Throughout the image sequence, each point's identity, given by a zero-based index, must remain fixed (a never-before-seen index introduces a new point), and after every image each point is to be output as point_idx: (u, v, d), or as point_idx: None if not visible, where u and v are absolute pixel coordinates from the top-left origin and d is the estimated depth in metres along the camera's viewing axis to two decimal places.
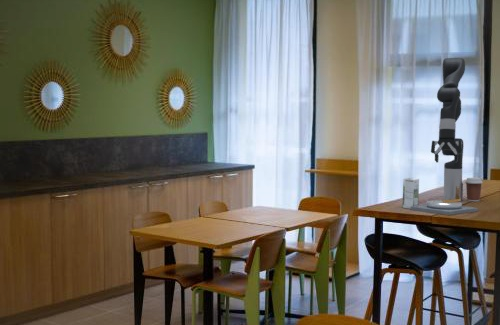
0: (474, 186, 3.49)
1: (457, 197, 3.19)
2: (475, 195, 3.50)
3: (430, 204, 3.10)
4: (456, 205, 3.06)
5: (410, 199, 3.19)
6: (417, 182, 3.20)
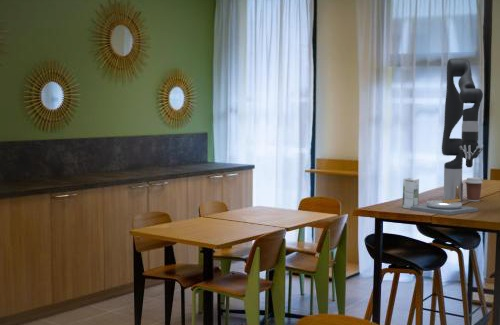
0: (474, 186, 3.49)
1: (457, 197, 3.19)
2: (475, 195, 3.50)
3: (430, 204, 3.10)
4: (456, 205, 3.06)
5: (410, 199, 3.19)
6: (417, 182, 3.20)
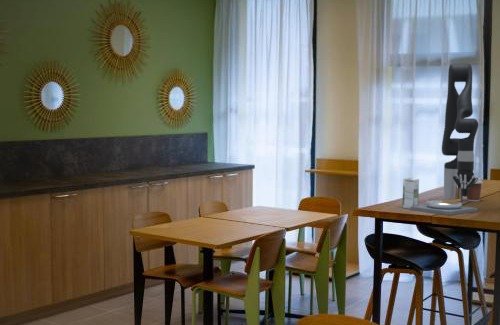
0: (474, 186, 3.49)
1: (457, 197, 3.19)
2: (475, 195, 3.50)
3: (430, 204, 3.10)
4: (456, 205, 3.06)
5: (410, 199, 3.19)
6: (417, 182, 3.20)
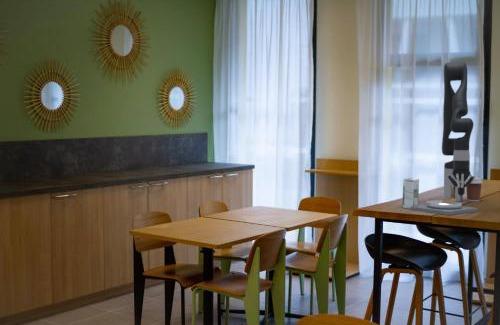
0: (474, 186, 3.49)
1: (453, 197, 3.21)
2: (475, 195, 3.50)
3: (433, 204, 3.09)
4: (459, 205, 3.07)
5: (410, 199, 3.19)
6: (417, 182, 3.20)
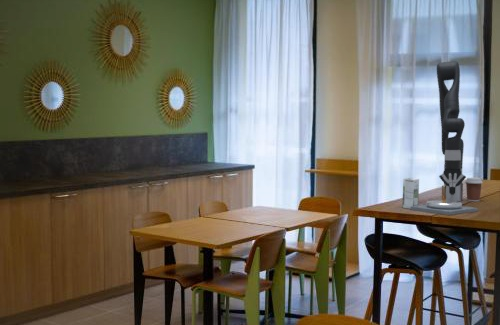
0: (474, 186, 3.49)
1: (444, 196, 3.23)
2: (475, 195, 3.50)
3: (440, 205, 3.07)
4: (461, 204, 3.10)
5: (410, 199, 3.19)
6: (417, 182, 3.20)
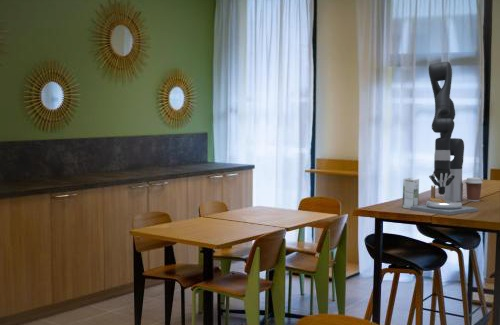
0: (474, 186, 3.49)
1: (434, 196, 3.23)
2: (475, 195, 3.50)
3: (449, 205, 3.06)
4: None
5: (410, 199, 3.19)
6: (417, 182, 3.20)
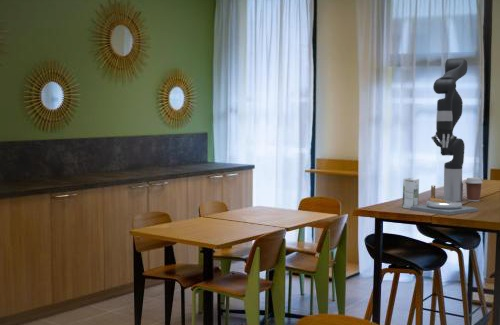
0: (474, 186, 3.49)
1: (434, 196, 3.23)
2: (475, 195, 3.50)
3: (449, 205, 3.06)
4: None
5: (410, 199, 3.19)
6: (417, 182, 3.20)
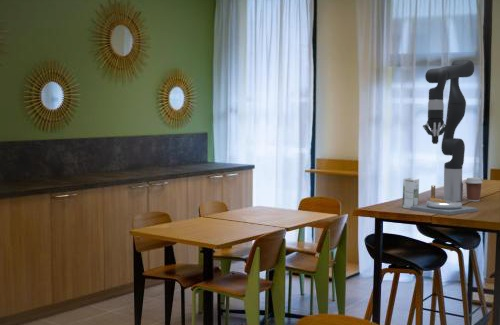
0: (474, 186, 3.49)
1: (434, 196, 3.23)
2: (475, 195, 3.50)
3: (449, 205, 3.06)
4: None
5: (410, 199, 3.19)
6: (417, 182, 3.20)
